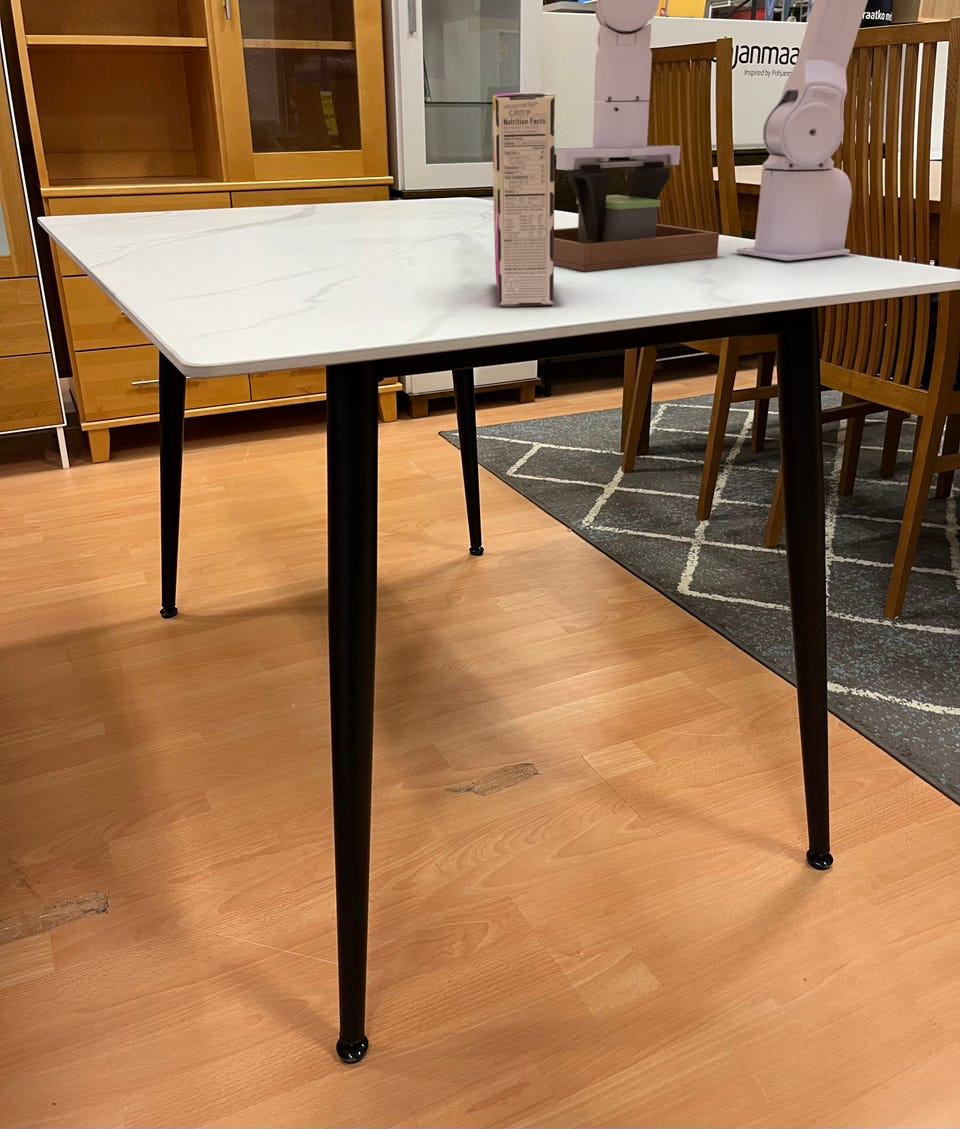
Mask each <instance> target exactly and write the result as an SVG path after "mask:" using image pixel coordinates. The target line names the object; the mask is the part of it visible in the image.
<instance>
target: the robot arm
mask: <svg viewBox="0 0 960 1129" xmlns="http://www.w3.org/2000/svg"><path fill="white" fill-rule="evenodd" d="M868 1H869V0H814V1H813V4H812V7H811V10H810V14H809V18H808V21H807V24H806V28H805V30H804V34H803V38H802V42H801V45H800V49H799V52H798V56H797V59H796V62H795V65H794V66H793V68H792V70H791V72H790V74H789V75H788V78H787V79H786V82H784V86H783V90H782V93H781V95H780V98H779V100H778V102H777V103H776V105H775V106H774V107H773V108H772V110H770V111H769V113H768V115H767V116H766V118H765V120H764V123H763V127H762V140H763V144H764V147H765V149H766V151H767V152H768V153H769V155H768V158H767V159H766V160H765V161H764V162H763V163H762V168H763V169H761V178H760V189H759V197H758V198H759V199H758V209H757V219H756V228H755V237H754V238H755V239H754V246H751V247H750V246H747V247H739V248H737V249H736V253H737V254H743V255H749V256H754V257H761V258H766V259H767V258H768V259H772V260H773V259H774V260H779V261H798V260H799V261H800V260H807V259H814V258H822V257H823V258H824V257H833V256H842V255H849V254H850V253H851V249H849V248H845V246H846V239H847V232H848V226H849V218H850V210H851V205H852V197H853V196H852V195H853V191H852V190H853V189H852V184H851V181H850V178H849V176H848V174H846V172H844V171H843V170H842V169H840V168H837V167H834V166H835V161H834V160H833V159H832V156H833V155H834V153H836V151H837V150H838V148H839V147H840V145H841V143H842V140H843V137H844V133H845V132H844V131H845V122H844V115H843V113H844V111H843V110H844V103H845V100H846V97H847V93H848V82H847V68H848V65H849V61H850V59H851V55H852V52H853V49H854V46H855V42H856V40H857V37H858V33H859V30H860V26H861V23H862V21H863V17H864V14H865V10H866V7H867V4H868ZM659 6H660V0H596V2H595V4H594V12H595V13H594V14H595V17H596V20H597V22H598V24H599V30H598V32H597V38H596V39H597V40H596V42H597V43H596V44H597V46H598V50H597V52H595V53H596V54H595V69H594V70H595V71H594V103H593V104H594V105H593V132H592V133H593V134H592V136H593V138H592V147H580V148H579V147H578V148H565V149H556V163H555V164H556V165H555V169H556V170H557V171H558V170H560V171H561V170H562V171H567V180H568V182H569V184H570V186H571V188H572V190H573V193H574V195H575V197H576V201H577V200H578V203H579V204H578V207H579V206H580V209H581V212H582V216H583V221H584V225H585V231H586V237H587V239H588V240H593V241H602V236H603V229H604V210H605V202H606V196H608V191H609V186H610V184H611V180H612V174H611V173H606V172H604V170H602V169H606V168H608V169H609V168H627V167H629V168H627V169H626V170H625V175H626V179H627V187H628V194H629V195H628V196H630V197H639V198H647V199H656V200H659V197H660V196H661V193H662V191H663V189H664V188H665V186H666V184H667V183H668V181H669V180H670V177H671V170H672V169H671V167H666V166H667V165H668V166H679V165H680V159H681V158H680V156H681V145H648V134H649V114H650V113H649V112H650V98H651V95H650V94H651V81H652V80H651V78H652V77H651V76H652V59H653V52H652V49H651V37H652V24H651V23H649V22H650V20H651V21H652V20H653V19H654V18H655V16H656V14H657V12H658V9H659ZM648 23H649V24H648ZM610 158H628V159H629V161H610ZM664 166H665V167H664ZM630 167H634V168H630Z"/></svg>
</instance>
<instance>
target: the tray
mask: <svg viewBox="0 0 960 1129" xmlns="http://www.w3.org/2000/svg"><path fill="white" fill-rule="evenodd" d="M719 240H720V232H718V231H717V232H716V231H710V230H703V229H697V228H690V227H689V228H688V227H682V226H677V225H676V226H675V225H669V224H660V223H657V229H656V238H645V239H634V240H623V241H613V242H602V243H591V244H585V243H579V242H578V226H577V227H564V228H554V266H558V267H560V268H561V267H562V268H566V269H571V270H576V271H579V272H582V273H583V272H584V273H585V272H593V271H604V270H613V269H621V268H631V267H639V266H642V267H643V266H651V265H658V264H668V263H669V264H670V263H677V262H678V263H679V262H688V261H695V260H706V259H707V260H708V259H715V258H718V253H719V252H718V251H719Z"/></svg>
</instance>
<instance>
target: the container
mask: <svg viewBox="0 0 960 1129" xmlns="http://www.w3.org/2000/svg"><path fill="white" fill-rule="evenodd" d="M575 201H576V202H575V203H576V205H578V218H577V219H578V221H577V227H578V242H579V243H585V244H591V243H602V242H613V241H623V240H634V239H645V238H656V229H657V224H658V212H659V211H658V210H659V208H660V207H661V206H662V205H661V203H662V200H661V199H657V200H656V199H647V198H639V197H630V195H621V194H610V195H609V194H607V196H606V202H605V210H604V229H603V236H602V241H593V240H588V239H587V237H586V231H585V225H584V221H583V216H582V212H581V209H580V206H579V203H578V200H577V199H576V200H575Z"/></svg>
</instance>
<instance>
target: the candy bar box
mask: <svg viewBox="0 0 960 1129" xmlns="http://www.w3.org/2000/svg"><path fill="white" fill-rule="evenodd" d="M555 105H556V94H555V93H553V92H508V93H506V92H505V93H498V94H497V93H496V94H494V95H492V184H493V186H492V188H493V190H492V191H493V227H494V228H493V229H494V264H495V265H494V266H495V268H494V269H495V280H496V289H497V296H498V303H499V304H498V305H499V306H500V307H511V308H512V307H514V308H515V307H541V306H553V305H554V286H555V285H554V282H555V280H554V278H555V276H554V274H555V273H554V272H555V271H554V269H555V265H554V229H555V115H556V114H555V113H556V112H555V111H556V110H555V108H556V107H555Z"/></svg>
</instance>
